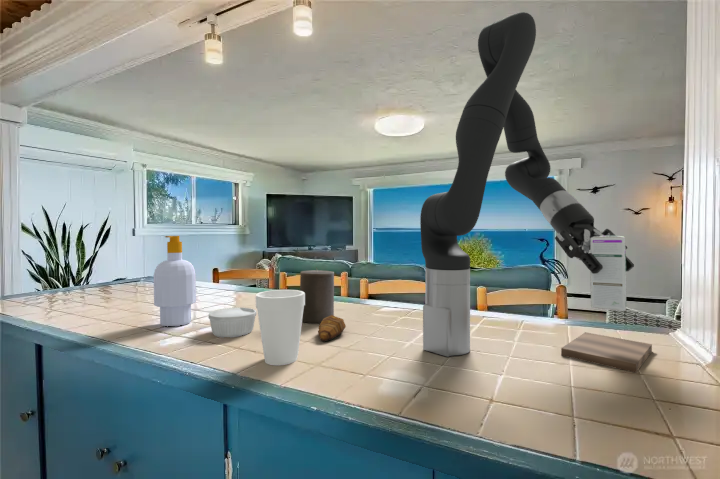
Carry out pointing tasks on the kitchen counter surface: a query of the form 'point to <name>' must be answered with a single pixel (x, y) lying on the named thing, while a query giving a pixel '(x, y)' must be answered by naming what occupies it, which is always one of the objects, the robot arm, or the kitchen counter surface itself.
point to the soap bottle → (174, 286)
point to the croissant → (330, 328)
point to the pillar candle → (317, 295)
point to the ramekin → (232, 321)
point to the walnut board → (608, 351)
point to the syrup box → (609, 273)
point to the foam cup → (280, 324)
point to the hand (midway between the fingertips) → (614, 270)
